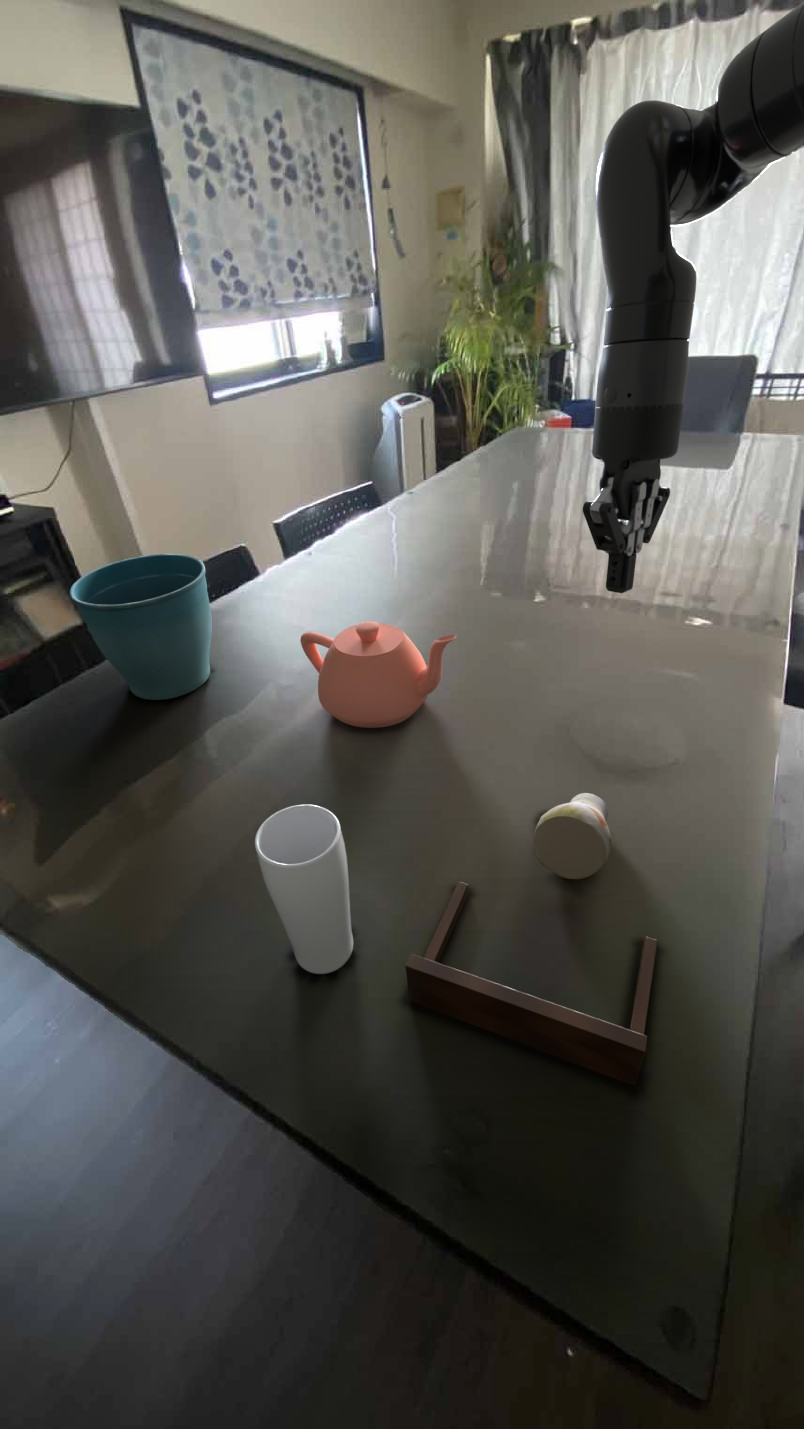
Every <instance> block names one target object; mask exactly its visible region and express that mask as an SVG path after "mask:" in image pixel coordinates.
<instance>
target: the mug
mask: <svg viewBox="0 0 804 1429" xmlns="http://www.w3.org/2000/svg"><path fill="white" fill-rule="evenodd" d="M608 816H609V809H608V806H607V804H606V802H605V801H604V800H603V799H602V798H600V797H599V796H598V795H595V794H593V793H588V792H582V793H578V794H577V795H575V796H573V798H571V800H570V802H567V803H562V804H558V805H556V806H554V807H553V808H551V809H549V810H548V811H547V812H545V813H544V814H542V815H541V816H540V818H539V821H538V822H537V824H536V827H535V830H534V832H533V847H534V852H535V854H536V856H537V858H538V860H539V862H540V863H541V865H543V866H544V867H545V868H546V869H548V870H550V871H551V872H552V873H553V874H555V875H556V876H558V877H561V878H564V879H568V880H582V879H586V878H589V877H591V876H593V875H594V874H596V873H598V872H599V871H600V870H602V868H603V867H604V866H605V864H606V862H607V861H608V859H609V857H610V854H611V849H612V836H611V831H610V828H609V826H608V824H607V819H608Z"/></svg>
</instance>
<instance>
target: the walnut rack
mask: <svg viewBox="0 0 804 1429" xmlns="http://www.w3.org/2000/svg"><path fill="white" fill-rule="evenodd" d="M468 896H469V884H468V883H465V882H462V881H457V884H456V886H455V888H454V890H453V893H452V895H451V897H450V899H449V901H448V903H447V905H446V908H445V910H444V912H443V914H442V917H441V918H440V921H439V923H438V925H437V926H436V927H437V928H436V929H435V932H434V933H433V936H432V938H431V941H430V942H429V945H428V947H427V949H426V951H425V953H424V955H423V957H422V956H420V955H417V954H414V953H410V955H409V957H408V959H407V961H406V963H405V965H404V966H405V975H406V983H407V992H408V1000H409V1001H410V1002H412V1003H415V1004H417V1005H420V1006H422V1007H425V1008H427V1009H430V1010H433V1011H436V1012H438V1013H441V1014H444V1015H446V1016H448V1017H451V1018H455V1019H457V1020H460V1021H462V1022H464V1023H467V1024H469V1025H473V1026H475V1027H477V1028H480V1029H483V1030H485V1031H488V1032H491V1033H493V1034H496V1035H498V1036H502V1037H504V1038H506V1039H509V1040H511V1041H514V1042H517V1043H519V1044H522V1045H525V1046H527V1047H530V1048H533V1049H536V1050H538V1051H540V1052H543V1053H545V1054H549V1055H551V1056H554V1057H557V1058H559V1059H562V1060H564V1061H566V1062H567V1061H568V1062H570V1063H572V1064H575V1065H578V1066H580V1067H583V1068H586V1069H588V1070H591V1071H593V1072H596V1073H598V1074H601V1075H603V1076H607V1077H608V1078H611V1079H614V1080H617V1081H620V1082H622V1083H625V1084H627V1085H630V1086H632V1087H636V1086H637V1082H638V1079H639V1075H640V1072H641V1068H642V1065H643V1061H644V1058H645V1054H646V1051H647V1044H648V1042H647V1041H648V1036H647V1035H645V1030H646V1024H647V1016H648V1010H649V1003H650V996H651V989H652V982H653V975H654V969H655V961H656V954H657V946H658V939H656V938H651V937H648V936H645V937H644V939H643V944H642V950H641V956H640V961H639V968H638V974H637V981H636V987H635V993H634V999H633V1005H632V1010H631V1017H630V1022H629V1023H630V1024H629V1028H625V1027H623V1026H619V1025H617V1024H615V1023H611V1022H608V1021H606V1020H602V1019H600V1018H596V1017H594V1016H591V1015H588V1014H585V1013H584V1012H579V1011H576V1010H574V1009H571V1008H568V1007H565V1006H562V1005H559V1004H556V1003H554V1002H551V1001H548V1000H546V999H542V998H539V997H537V996H535V995H531V994H529V993H525V992H522V991H521V990H517V989H514V988H511V987H509V986H506V985H502V984H500V983H496V982H494V981H491V980H488V979H485V978H483V977H479V976H478V975H474V974H472V973H469V972H466V971H462V970H460V969H456V968H454V967H451V966H448V965H444V964H443V963H440V960H441V957H442V956H443V953H444V950H445V949H446V947H447V944H448V942H449V939H450V938H451V935H452V933H453V930H454V928H455V926H456V924H457V921H458V919H459V917H460V914H461V912H462V910H463V907H464V905H465V903H466V900H467V898H468Z"/></svg>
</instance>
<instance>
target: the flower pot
mask: <svg viewBox="0 0 804 1429" xmlns="http://www.w3.org/2000/svg"><path fill="white" fill-rule="evenodd" d="M206 572H207V571H206V567H205V564H204V562H203V561H202V560H200V559H199V558H197V557H195V556H191V555H186V554H180V553H159V554H147V555H142V556H135V557H130V558H125V559H122V560H118V561H114V562H111V563H109V564H106V565H103V566H101V567H98V568H95V569H94V570H91V571H89V572H88V573H86V574H84V575H83V576H81V577H80V578H79V579H76V581H75V582H74V583H73V584H72V586H70V587H71V588H70V590H69V596H70V599H71V600H72V601H73V603H74V604H75V605H76V607H77V609H78V611H79V614H80V615H81V617H82V618H83V620H84V622H85V625H86V626H87V629H88V630H89V633H90V635H91V637H92V638H93V641H94V642H95V644H96V646H97V647H98V649H99V650H100V652H101V653H102V655H103V656H104V657H105V659H106V660H107V661H108V662H109V663H110V664H111V666H112V667H113V668H114V669H115V670H116V671H117V672H118V674H120V676H121V677H122V678H123V680H124V681H125V682H126V683H127V685H128V686H129V689H130V692H131V693H132V694H133V695H134V696H136V697H137V698H140V699H143V700H149V701H161V700H170V699H174V698H178V697H181V696H184V695H186V694H189V693H192V692H193V691H195V690H197V689H198V688H200V687H201V686H202V685H204V684H205V682H207V680H208V679H209V677H210V675H211V667H210V652H211V642H212V633H213V632H212V631H213V622H212V611H211V604H210V598H209V593H208V584H207V579H206Z"/></svg>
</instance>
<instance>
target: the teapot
mask: <svg viewBox="0 0 804 1429" xmlns="http://www.w3.org/2000/svg"><path fill="white" fill-rule="evenodd" d="M456 638H457V635H454V634H451V635H444V636H441V637H439V638H437V639H435V640H434V641H433V642H432V644H431V646H430V648H429V655H428V663H427V664H426V661H425V659H424V658H423V656H422V654H421V652H420V651H419V648H417V647H416V645H415V644H414V643H413V641H412V640H411V638H410V637H409V636H408V635H407V634H406V633H405V632H404V631H403V630H402V629H401V628H398V627H397V626H394V625H391V624H387V623H381V622H379V623H378V622H376V621H370V620H369V621H368V620H367V621H362V622H360V623H358V624H355V625H351V626H349V627H346V628H345V629H343V630H341V631H340V632H339V633H338V634H337V635H336V636H335V638H332V637H330V636H328V635H325V634H322V633H319V632H316V631H306V632H304V633H302V635H301V636H300V641H299V642H300V645H301V648H302V651H303V652H304V654H305V656H306V657H307V659H308V660H309V662H310V664H312V666H313V667H314V669H315V670H316V671H317V673H318V680H317V694H318V695H317V696H318V700H319V703H320V704H321V707H322V708H323V709H324V710H325V712H327V713H328V714H329V715H330V716H332V717H334V718H335V719H336V720H338V721H340V722H342V723H344V724H347V725H349V726H352V727H357V728H365V729H366V728H367V729H376V728H377V729H378V728H386V727H390V726H394V725H398V724H401V723H402V722H404V721H406V720H407V719H409V718H410V717H411V716H413V715H414V714H415V713H416V712H417V711H418V710H419V709H420V708H421V706H422V705H423V704H424V702H425V701H426V700H427V698H428V695H430V694H431V693H433V692H434V691H435V689H437V687H438V686H439V684H440V681H441V679H442V675H443V654H444V650H445V649H446V647H447V645H449V644H450V643H451V642H453V641H454V640H455V639H456ZM317 645H319V646H322V647H325V648H326V649H328V650H327V652H326V654H325V656H324V658H323V657H322V656H321V654H320V652H319V649H318V646H317Z"/></svg>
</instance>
